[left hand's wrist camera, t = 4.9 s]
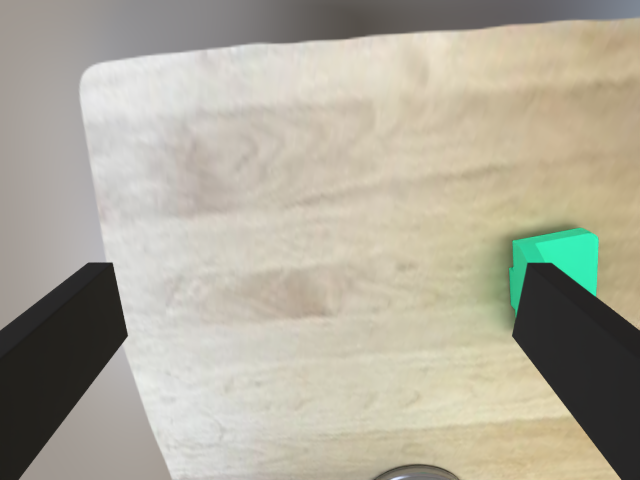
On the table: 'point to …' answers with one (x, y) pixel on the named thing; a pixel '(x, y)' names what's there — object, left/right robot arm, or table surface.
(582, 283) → the camera mount
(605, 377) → the left robot arm
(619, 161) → the table surface
